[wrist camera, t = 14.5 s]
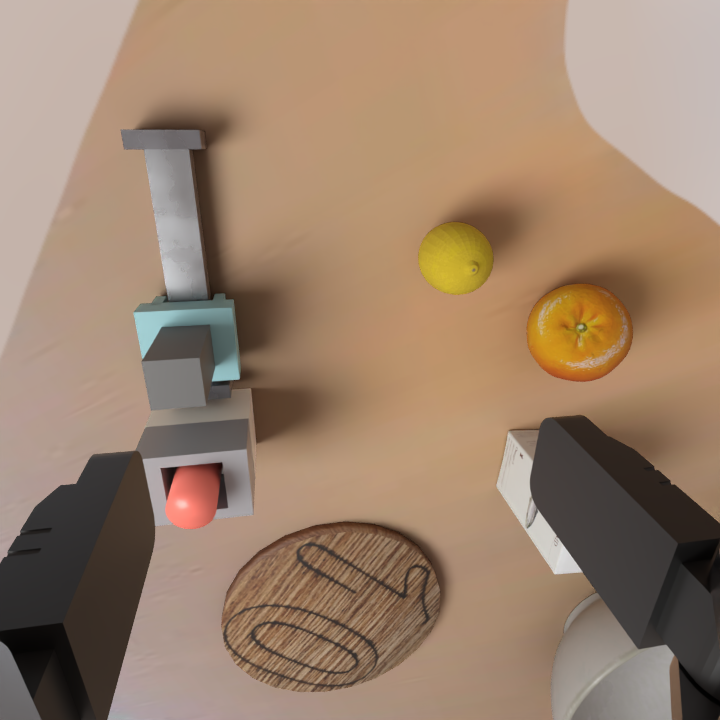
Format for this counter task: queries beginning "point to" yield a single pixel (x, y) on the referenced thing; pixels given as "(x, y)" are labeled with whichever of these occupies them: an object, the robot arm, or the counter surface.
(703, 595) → the robot arm
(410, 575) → the trivet
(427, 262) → the lemon
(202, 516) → the button
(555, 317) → the fruit
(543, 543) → the supplement box
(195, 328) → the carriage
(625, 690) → the decorative bowl
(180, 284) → the rail
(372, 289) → the counter surface
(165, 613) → the counter surface
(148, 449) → the grey and white block
